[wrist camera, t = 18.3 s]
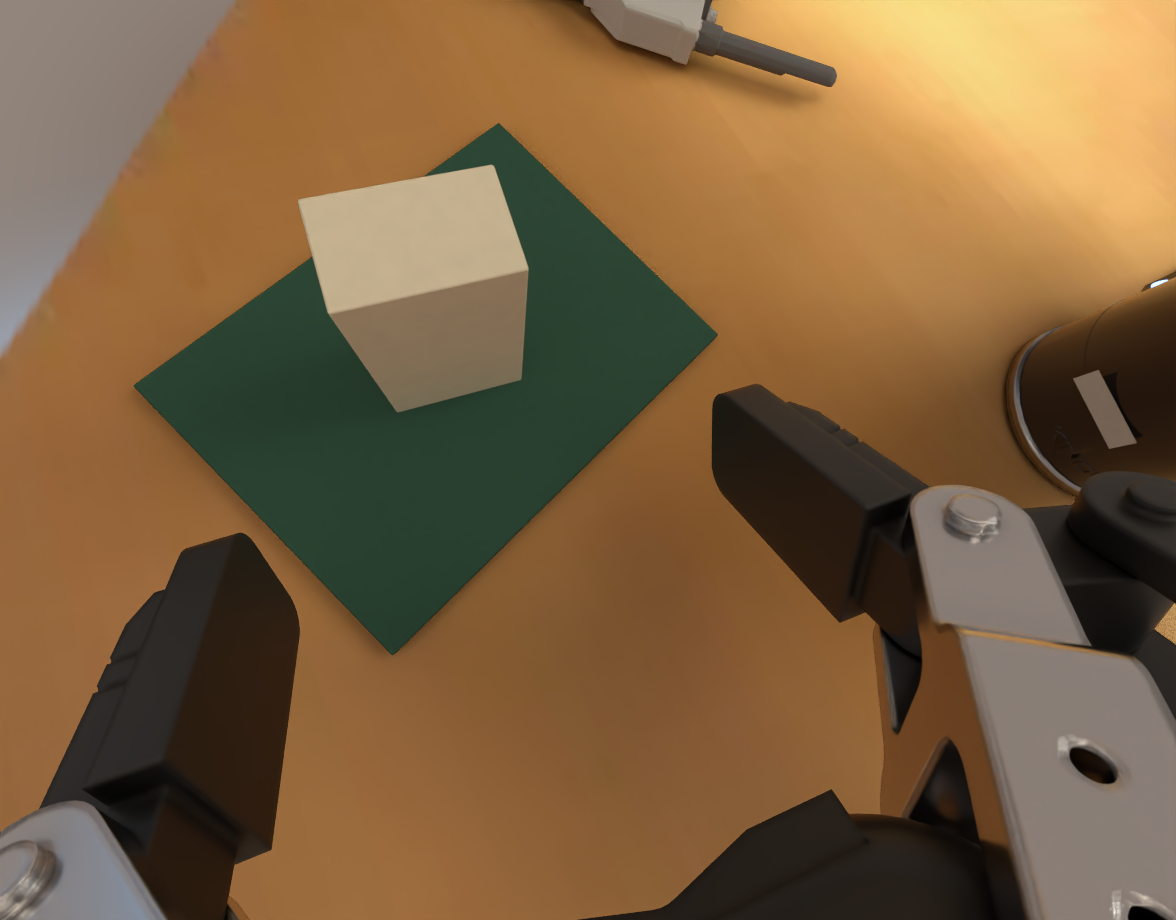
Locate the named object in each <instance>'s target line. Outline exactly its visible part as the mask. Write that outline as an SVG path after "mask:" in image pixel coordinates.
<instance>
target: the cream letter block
mask: <svg viewBox="0 0 1176 920" xmlns="http://www.w3.org/2000/svg"><path fill="white" fill-rule="evenodd" d="M298 205H299V209H300V213H301V216H302V220H303V224H304V227H305V231H306V235H307V238H308V242H309V246H310V249H311V253H312V257H313V261H314V264H315V268H316V272H317V275H318V279H319V283H320V286H321V290H322V294H323V298H324V301H325V305H326V309H327V312H328V314H329V315H330V317H331V318H332V320H333V321H334V323H335V324H336V326H337V327H338V328H339V330H340V331H341V333H342V334H343V336H344V337H345V338H346V340H347V341H348V343H349V344H350V346H351V347H352V349H353V350H354V351H355V353H356V354H357V356H358V357H359V359H360V360H361V361H362V363H363V364H364V366H365V367H366V369H367V370H368V372H369V373H370V374H371V376H372V377H373V379H374V380H375V382H376V383H377V384H378V386H379V387H380V389H381V390H382V392H383V393H384V395H385V396H386V397H387V399H388V400H389V402H390V403H391V405H392V406H393V407H394V409H395V410H396V412H402V411H405V410H409V409H413V408H417V407H421V406H424V405H428V404H432V403H436V402H439V401H443V400H447V399H451V398H455V397H458V396H462V395H466V394H470V393H474V392H477V391H481V390H485V389H489V388H492V387H496V386H500V385H504V384H508V383H511V382H515V381H519V380H521V378H522V362H523V347H524V331H525V316H526V300H527V285H528V269H529V268H528V265H527V262H526V259H525V256H524V253H523V250H522V247H521V244H520V241H519V238H518V235H517V232H516V229H515V227H514V224H513V221H512V218H511V215H510V212H509V209H508V206H507V203H506V200H505V197H504V194H503V191H502V188H501V185H500V182H499V179H498V176H497V173H496V170H495V167H494V166H493V165H487V166H481V167H476V168H470V169H465V170H459V171H453V172H448V173H442V174H437V175H431V176H426V177H420V178H415V179H409V180H403V181H398V182H392V183H387V184H381V185H376V186H370V187H365V188H359V189H354V190H348V191H342V192H337V193H331V194H326V195H320V196H315V197H309V198H304V199H299V200H298Z"/></svg>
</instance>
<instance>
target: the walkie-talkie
mask: <svg viewBox="0 0 1176 920" xmlns="http://www.w3.org/2000/svg"><path fill="white" fill-rule="evenodd" d="M579 1H582V2H584V4H583V5H585V6H588V7H591V12H592V13H593V15H594V16H595V17H596V18H597V19H598V20H599V21H600V22H601V23H602V24H603V26H604V27H605V28H606V29H607V30H608V31H609V32H610V33H611V34H612V36H613V37H614V38H615V39H617V40H619V41H622V42H625V43H628V44H631V45H634V46H637V47H640V48H643V49H646V50H649V51H652V52H655V53H658V54H661V55H664V56H667V57H670V58H671V59H672V60H673V61H675V62H678V63H681V64H685V65H686V64H687V62H688V59H689V56H690V53H691V51H692V50H693V51H696V52H699V53H703V54H706V55H709V56H714V55H719V56H722V57H725V58H728V59H731V60H734V61H737V62H740V63H743V64H746V65H750V66H753V67H756V68H759V69H762V70H765V71H768V72H771V73H774V74H777V75H783V74H785V73H786V74H790V75H793V76H796V77H799V78H802V79H805V80H808V81H811V82H814V83H817V84H821V85H824V86H827V87H832V86H833V84H834V83H835V81H836V78H837V74H836V71H835V69H834V68H833V67H830V66H827V65H824V64H821V63H818V62H815V61H812V60H809V59H806V58H803V57H800V56H797V55H794V54H791V53H788V52H785V51H782V50H779V49H776V48H773V47H770V46H767V45H764V44H761V43H758V42H755V41H752V40H749V39H746V38H743V37H740V36H737V35H734V34H731V33H728V32H725V31H723V28H722V26H719V25H716V24H715V21H716V18H717V15H718V11H715V10H712V7H711V6H710V5H711V2H712V0H579Z"/></svg>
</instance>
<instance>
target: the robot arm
mask: <svg viewBox="0 0 1176 920" xmlns="http://www.w3.org/2000/svg"><path fill="white" fill-rule="evenodd" d="M1006 402H1007V409H1008V414H1009V419H1010V422H1011V425H1012V428H1013V431H1014V433H1015V436H1016V438H1017V440H1018V442H1019V444H1020V445H1021V447H1022V449H1023V450H1024V452H1025V454H1026V455H1027V456H1028V458H1029V459H1030V461H1031V462H1032V463H1033V464H1034V465H1035V467H1036V468H1037V469H1038V470H1039V471H1040V472H1041V473H1042V474H1043V475H1044V476H1045V477H1047V478H1048V479H1049V480H1050V481H1051V482H1053V483H1054V484H1055V485H1057V486H1058V487H1060V488H1062V489H1063V490H1065V491H1067V492H1069V493H1071V494H1073V495H1075V496H1077V497H1076V499H1075V501H1074V503H1073V505H1064V506H1051V507H1038V508H1025V509H1021V508H1020V507H1019V506H1017V505H1016V504H1014V503H1013V502H1011V501H1010V500H1008V499H1006V498H1004V497H1002V496H1000V495H997V494H995V493H992V492H989V491H986V490H983V489H979V488H975V487H970V486H963V485H939V486H934V487H929V486H928V485H926V484H925V483H923V482H922V481H920V480H919V479H917V478H916V477H914V476H913V475H911V474H910V473H908V472H907V471H905V470H904V469H902V468H901V467H900V466H898V465H897V464H895V463H894V462H892V461H891V460H889V459H888V458H886V457H885V456H883V455H882V454H880V453H879V452H877V451H876V450H874V449H873V448H871V447H870V446H869V445H867V444H866V443H864V442H859V441H858V438H857V437H855V436H854V435H852V434H851V433H849V432H848V431H846V430H845V429H843V430H841V429H840V426H839V425H838V424H836V423H835V422H833V421H832V420H830V419H829V418H827V417H826V416H824V415H823V414H821V413H820V412H818V411H816V410H813V409H810V408H807V407H804V406H801V405H798V404H795V403H792V402H787V403H786V402H784V401H783V400H781V399H780V398H778V397H777V396H776V395H774V394H773V393H771V392H770V391H769V390H767V389H766V388H764V387H763V386H761V385H759V384H753V385H749V386H746V387H742V388H739V389H736V390H732V391H729V392H725V393H722V394H719V395H717V396H716V397H715V399H714V401H713V408H712V471H713V475H714V478H715V481H716V484H717V486H718V488H719V490H720V491H721V493H722V494H723V495H724V497H725V498H726V499H727V500H728V501H729V502H730V503H731V504H732V505H733V506H734V508H735V509H736V510H737V511H738V512H739V513H740V514H741V515H742V516H743V517H744V519H745V520H746V521H747V522H748V523H749V524H750V525H751V526H752V527H753V528H754V529H755V531H756V532H757V533H758V534H759V535H760V536H761V537H762V538H763V539H764V540H765V542H766V543H767V544H768V545H769V546H770V547H771V548H772V549H773V550H774V551H775V552H776V554H777V555H778V556H779V557H780V558H781V559H782V560H783V561H784V562H785V563H786V565H787V566H788V567H789V568H790V569H791V570H792V571H793V572H794V573H795V574H796V575H797V577H798V578H799V579H800V580H801V581H802V582H803V583H804V584H805V585H806V586H807V588H808V589H809V590H810V591H811V592H812V593H813V594H814V595H815V596H816V597H817V599H818V600H819V601H820V602H821V603H822V604H823V605H824V606H825V607H826V608H827V609H828V611H829V612H830V613H831V614H832V615H833V616H834V617H835V618H836V619H837V620H838V622H839V623H840V622H843V621H845V620H848V619H850V618H853V617H855V616H858V615H860V614H862V613H865V612H866V613H867V614H868V615H869V616H870V617H871V618H872V619H873V620H874V621H875V622H876V623H875V626H874V630H873V644H874V654H875V663H876V673H877V683H878V693H879V702H880V712H881V722H882V732H883V742H884V762H883V771H882V778H881V793H880V809H881V814H848V813H847V811H846V810H845V808H844V807H843V805H842V804H841V802H840V801H839V799H838V798H837V796H836V795H835V793H834V792H833V791H832V789H831V790H829V791H827V792H825V793H823V794H821V795H818V796H816V797H814V798H812V799H810V800H808V801H806V802H804V803H802V804H800V805H797V806H795V807H793V808H791V809H789V810H787V811H785V812H783V813H781V814H778V815H776V816H774V817H772V818H770V819H768V820H766V821H764V822H762V823H760V824H757V825H755V826H753V827H751V828H749V829H747V830H746V831H745V832H744V833H743V834H742V835H741V836H740V837H738V838H737V839H736V840H735V841H734V842H733V843H732V844H731V845H730V846H729V847H728V848H727V849H726V850H725V851H724V852H723V853H722V854H721V855H720V856H719V857H718V858H717V859H716V860H715V861H714V862H712V863H711V864H710V865H709V866H708V867H707V868H706V869H705V870H704V871H703V872H702V873H701V874H700V875H699V876H698V877H697V878H696V879H695V880H694V881H693V882H692V883H691V884H690V885H689V886H688V887H686V888H685V889H684V890H683V891H682V892H681V893H680V894H679V895H678V896H677V897H676V898H675V899H674V900H673V901H671V902H670V903H669V904H668V905H666V906H664V907H662V908H659V909H655V910H650V911H642V912H634V913H627V914H619V915H611V916H603V917H595V918H587V919H580V920H1176V645H1175V644H1174V643H1173V642H1171V641H1170V640H1168V639H1167V638H1166V637H1164V636H1163V635H1161V634H1160V633H1159V632H1157V631H1156V630H1154V628H1155V627H1156V626H1157V625H1158V623H1159V622H1160V621H1161V619H1162V618H1163V617H1164V616H1165V614H1166V613H1167V612H1168V610H1169V609H1170V608H1171V607H1172V605H1173V604H1174V603H1175V604H1176V272H1174V273H1172V274H1170V275H1168V276H1166V277H1163V278H1161V279H1159V280H1157V281H1154V282H1152V283H1150V284H1148V285H1146V286H1145V287H1144V288H1143V289H1142V291H1141V292H1140V293H1138V294H1136V295H1134V296H1132V297H1129V298H1127V299H1124V300H1122V301H1120V302H1117V303H1115V304H1113V305H1111V306H1108V307H1106V308H1104V309H1102V310H1099V311H1097V312H1095V313H1093V314H1090V315H1088V316H1086V317H1084V318H1081V319H1079V320H1077V321H1075V322H1072V323H1070V324H1068V325H1065V326H1061V327H1057V328H1054V329H1052V330H1050V331H1047V332H1045V333H1043V334H1041V335H1039V336H1037V337H1035V338H1033V339H1032V340H1030V341H1029V342H1028V343H1027V344H1025V345H1024V346H1023V348H1022V349H1021V350H1020V351H1019V352H1018V354H1017V355H1016V357H1015V359H1014V361H1013V363H1012V365H1011V368H1010V370H1009V374H1008V379H1007V385H1006ZM299 635H300V627H299V619H298V615H297V611H296V608H295V605H294V603H293V601H292V599H291V597H290V596H289V594H288V593H287V591H286V590H285V588H284V587H283V585H282V584H281V582H280V581H279V579H278V578H277V576H276V575H275V573H274V572H273V570H272V569H271V567H270V566H269V564H268V563H267V561H266V560H265V558H264V557H263V555H262V554H261V552H260V551H259V549H258V548H257V546H256V545H255V544H254V542H253V541H252V540H251V539H250V538H249V537H248V536H247V535H246V534H243V533H237V534H234V535H230V536H227V537H223V538H220V539H216V540H213V541H210V542H206V543H203V544H199V545H196V546H192V547H189V548H186V549H184V550H183V551H182V552H181V554H180V556H179V558H178V560H177V562H176V565H175V567H174V570H173V572H172V574H171V577H170V579H169V581H168V584H167V586H166V589H165V590H162V591H159V592H155V593H154V594H153V595H152V596H151V597H150V598H149V599H148V600H147V601H146V603H145V604H144V605H143V606H142V607H141V608H140V609H139V610H138V612H137V613H136V614H135V615H134V616H133V617H132V618H131V619H130V621H129V622H128V623H127V624H126V625H125V627H124V629H123V631H122V633H121V636H120V638H119V640H118V642H117V644H116V646H115V648H114V651H113V653H112V655H111V657H110V659H111V664H107V665H106V668H105V670H104V672H103V674H102V676H101V678H100V680H99V682H98V685H97V687H98V692H96V693H93V695H92V697H91V699H90V702H89V704H88V706H87V708H86V710H85V712H84V714H83V716H82V719H81V721H80V723H79V725H78V727H77V729H76V731H75V734H74V736H73V738H72V740H71V742H70V744H69V746H68V748H67V751H66V753H65V755H64V757H63V759H62V761H61V763H60V765H59V768H58V770H57V772H56V774H55V776H54V778H53V780H52V782H51V785H50V787H49V789H48V791H47V793H46V795H45V797H44V800H43V802H42V804H41V806H40V808H39V810H37V811H35V812H33V813H31V814H29V815H27V816H25V817H23V818H21V819H20V820H18V821H16V822H15V823H13V824H12V825H10V826H8V827H7V828H6V829H4V830H3V831H1V832H0V920H250V919H249V918H248V916H247V915H246V914H245V912H244V911H243V910H242V908H241V907H240V906H239V904H238V903H237V902H236V901H235V900H234V899H233V898H232V897H230V896H229V891H230V885H231V880H232V874H233V868H234V865H235V864H238V863H240V862H243V861H245V860H248V859H250V858H252V857H255V856H257V855H260V854H262V853H265V852H267V851H270V850H271V849H272V842H273V834H274V826H275V819H276V811H277V803H278V796H279V788H280V781H281V773H282V765H283V758H284V750H285V742H286V735H287V727H288V720H289V712H290V704H291V697H292V689H293V681H294V674H295V666H296V659H297V651H298V643H299Z"/></svg>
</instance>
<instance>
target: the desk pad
mask: <svg viewBox="0 0 1176 920" xmlns="http://www.w3.org/2000/svg"><path fill="white" fill-rule="evenodd" d="M487 165H493V166H494V167H495V170H496V173H497V176H498V179H499V182H500V185H501V188H502V191H503V194H504V197H505V200H506V203H507V206H508V209H509V212H510V215H511V218H512V221H513V224H514V227H515V229H516V232H517V235H518V238H519V241H520V244H521V247H522V250H523V253H524V256H525V259H526V262H527V265H528V268H529V269H528V285H527V300H526V316H525V331H524V347H523V362H522V378H521V380H519V381H515V382H511V383H508V384H504V385H500V386H496V387H492V388H489V389H485V390H481V391H477V392H474V393H470V394H466V395H462V396H458V397H455V398H451V399H447V400H443V401H439V402H436V403H432V404H428V405H424V406H421V407H417V408H413V409H409V410H405V411H402V412H396V410H395V409H394V407H393V406H392V405H391V403H390V402H389V400H388V399H387V397H386V396H385V395H384V393H383V392H382V390H381V389H380V387H379V386H378V384H377V383H376V382H375V380H374V379H373V377H372V376H371V374H370V373H369V372H368V370H367V369H366V367H365V366H364V364H363V363H362V361H361V360H360V359H359V357H358V356H357V354H356V353H355V351H354V350H353V349H352V347H351V346H350V344H349V343H348V341H347V340H346V338H345V337H344V336H343V334H342V333H341V331H340V330H339V328H338V327H337V326H336V324H335V323H334V321H333V320H332V318H331V317H330V315H329V314H328V312H327V309H326V305H325V301H324V298H323V294H322V290H321V286H320V283H319V279H318V275H317V272H316V268H315V264H314V261H313V257H311V258H310V259H309V260H307V261H306V262H305V263H303V264H302V265H300V266H299V267H298V268H296V269H295V270H293V271H292V272H291V273H289V274H288V275H286V276H285V277H284V278H282V279H281V280H279V281H278V282H277V283H275V284H274V285H273V286H271V287H270V288H268V289H267V290H266V291H264V292H263V293H261V294H260V295H259V296H257V297H256V298H254V299H253V300H252V301H250V302H249V303H247V304H246V305H245V306H243V307H242V308H241V309H239V310H238V311H236V312H235V313H234V314H232V315H231V316H229V317H228V318H227V319H225V320H224V321H222V322H221V323H220V324H218V325H217V326H215V327H214V328H213V329H211V330H210V331H209V332H207V333H206V334H204V335H203V336H202V337H200V338H199V339H197V340H196V341H195V342H193V343H192V344H190V345H189V346H188V347H186V348H185V349H184V350H182V351H181V352H179V353H178V354H177V355H175V356H174V357H172V358H171V359H170V360H168V361H167V362H165V363H164V364H163V365H161V366H160V367H158V368H157V369H156V370H154V371H153V372H152V373H150V374H149V375H147V376H146V377H145V378H143V379H142V380H140V381H139V382H138V383H136V384H135V385H134V387H135V388H136V389H137V390H138V391H139V392H140V393H141V395H142V396H143V397H144V398H145V399H146V400H147V401H148V402H149V403H150V404H151V405H152V406H153V407H154V408H155V409H156V410H157V411H158V412H159V413H160V414H161V415H162V416H163V417H164V418H165V420H166V421H167V422H168V423H169V424H170V425H171V426H172V427H173V428H174V429H175V430H176V431H177V432H178V433H179V434H180V435H181V436H182V437H183V438H184V439H185V440H186V441H187V442H188V443H189V444H190V446H191V447H192V448H193V449H194V450H195V451H196V452H197V453H198V454H199V455H200V456H201V457H202V458H203V459H204V460H205V461H206V462H207V463H208V464H209V465H210V466H211V467H212V468H213V469H214V471H215V472H216V473H217V474H218V475H219V476H220V477H221V478H222V479H223V480H224V481H225V482H226V483H227V484H228V485H229V486H230V487H231V488H232V489H233V490H234V491H235V492H236V493H237V494H238V495H239V497H240V498H241V499H242V500H243V501H244V502H245V503H246V504H247V505H248V506H249V507H250V508H251V509H252V510H253V511H254V512H255V513H256V514H257V515H258V516H259V517H260V518H261V519H262V520H263V521H264V523H265V524H266V525H267V526H268V527H269V528H270V529H271V530H272V531H273V532H274V533H275V534H276V535H277V536H278V537H279V538H280V539H281V540H282V541H283V542H284V543H285V544H286V545H287V546H288V548H289V549H290V550H291V551H292V552H293V553H294V554H295V555H296V556H297V557H298V558H299V559H300V560H301V561H302V562H303V563H304V564H305V565H306V566H307V567H308V568H309V569H310V570H311V571H312V572H313V574H314V575H315V576H316V577H317V578H318V579H319V580H320V581H321V582H322V583H323V584H324V585H325V586H326V587H327V588H328V589H329V590H330V591H331V592H332V593H333V594H334V595H335V596H336V597H337V599H338V600H339V601H340V602H341V603H342V604H343V605H344V606H345V607H346V608H347V609H348V610H349V611H350V612H351V613H352V614H353V615H354V616H355V617H356V618H357V619H358V620H359V621H360V622H361V623H362V625H363V626H364V627H365V628H366V629H367V630H368V631H369V632H370V633H371V634H372V635H373V636H374V637H375V638H376V639H377V640H378V641H379V642H380V643H381V644H382V645H383V646H384V647H385V648H386V650H387V651H388V652H389V653H390V654H391V655H394V654H395V653H397V652H398V651H399V650H400V649H401V648H402V647H403V646H404V645H405V644H406V643H407V642H408V641H409V640H410V639H411V638H412V637H413V636H414V635H415V634H416V633H417V632H418V631H419V630H420V629H421V628H422V627H423V626H424V625H425V624H426V623H427V622H428V621H429V620H430V619H431V618H432V617H433V616H434V615H435V614H436V613H437V612H438V611H439V610H440V609H441V608H442V607H443V606H444V605H445V604H446V603H447V602H448V601H449V600H450V599H451V598H452V597H453V596H454V595H455V594H456V593H457V592H458V591H459V590H460V589H461V588H462V587H463V586H464V585H465V584H466V583H468V582H469V581H470V580H471V579H472V578H473V577H474V576H475V575H476V574H477V573H478V572H479V571H480V570H481V569H482V568H483V567H484V566H485V565H486V564H487V563H488V562H489V561H490V560H491V559H492V558H493V557H494V556H495V555H496V554H497V553H498V552H499V551H500V550H501V549H502V548H503V547H504V546H505V545H506V544H507V543H508V542H509V541H510V540H511V539H512V538H513V537H514V536H515V535H516V534H517V533H518V532H519V531H520V530H521V529H522V528H523V527H524V526H525V525H526V524H527V523H528V522H529V521H530V520H531V519H532V518H533V517H534V516H535V515H536V514H537V513H539V512H540V511H541V510H542V509H543V508H544V507H545V506H546V505H547V504H548V503H549V502H550V501H551V500H552V499H553V498H554V497H555V496H556V495H557V494H558V493H559V492H560V491H561V490H562V489H563V488H564V487H565V486H566V485H567V484H568V483H569V482H570V481H571V480H572V479H573V478H574V477H575V476H576V475H577V474H578V473H579V472H580V471H581V470H582V469H583V468H584V467H585V466H586V465H587V464H588V463H589V462H590V461H591V460H592V459H593V458H594V457H595V456H596V455H597V454H598V453H599V452H600V451H601V450H602V449H603V448H604V447H605V446H606V445H607V444H608V443H610V442H611V441H612V440H613V439H614V438H615V437H616V436H617V435H618V434H619V433H620V432H621V431H622V430H623V429H624V428H625V427H626V426H627V425H628V424H629V423H630V422H631V421H632V420H633V419H634V418H635V417H636V416H637V415H638V414H639V413H640V412H641V411H642V410H643V409H644V408H645V407H646V406H647V405H648V404H649V403H650V402H651V401H652V400H653V399H654V398H655V397H656V396H657V395H658V394H659V393H660V392H661V391H662V390H663V389H664V388H665V387H666V386H667V385H668V384H669V383H670V382H671V381H672V380H673V379H674V378H675V377H676V376H677V375H678V374H679V373H681V372H682V371H683V370H684V369H685V368H686V367H687V366H688V365H689V364H690V363H691V362H692V361H693V360H694V359H695V358H696V357H697V356H698V355H699V354H700V353H701V352H702V351H703V350H704V349H705V348H706V347H707V346H708V345H709V344H710V343H711V342H712V341H713V340H714V339H715V338H716V337H717V335H718V334H717V333H716V332H715V331H714V330H713V329H712V328H711V327H710V326H709V325H708V324H707V323H705V322H704V321H703V320H702V319H701V318H700V317H699V316H698V315H697V314H696V313H695V312H694V311H693V310H692V309H691V308H690V307H689V306H688V305H687V304H686V303H685V302H684V301H683V300H682V299H681V298H680V297H679V296H678V295H676V294H675V293H674V292H673V291H672V290H671V289H670V288H669V287H668V286H667V285H666V284H665V283H664V282H663V281H662V280H661V279H660V278H659V277H658V276H657V275H656V274H655V273H654V272H653V271H652V270H651V269H650V268H648V267H647V266H646V265H645V264H644V263H643V262H642V261H641V260H640V259H639V258H638V257H637V256H636V255H635V254H634V253H633V252H632V251H631V250H630V249H629V248H628V247H627V246H626V245H625V244H624V243H623V242H622V241H621V240H619V239H618V238H617V237H616V236H615V235H614V234H613V233H612V232H611V231H610V230H609V229H608V228H607V227H606V226H605V225H604V224H603V223H602V222H601V221H600V220H599V219H598V218H597V217H596V216H595V215H594V214H593V213H592V212H590V211H589V210H588V209H587V208H586V207H585V206H584V205H583V204H582V203H581V202H580V201H579V200H578V199H577V198H576V197H575V196H574V195H573V194H572V193H571V192H570V191H569V190H568V189H567V188H566V187H565V186H564V185H562V184H561V183H560V182H559V181H558V180H557V179H556V178H555V177H554V176H553V175H552V174H551V173H550V172H549V171H548V170H547V169H546V168H545V167H544V166H543V165H542V164H541V163H540V162H539V161H538V160H537V159H536V158H535V157H533V156H532V155H531V154H530V153H529V152H528V151H527V150H526V149H525V148H524V147H523V146H522V145H521V144H520V143H519V142H518V141H517V140H516V139H515V138H514V137H513V136H512V135H511V134H510V133H509V132H508V131H507V130H505V129H504V128H503V127H502V126H501V125H500V124H499V123H498V124H496V125H495V126H494V127H492V128H491V129H489V130H488V131H487V132H485V133H484V134H483V135H481V136H480V137H478V138H477V139H476V140H474V141H473V142H471V143H470V144H469V145H467V146H466V147H464V148H463V149H462V150H460V151H459V152H457V153H456V154H455V155H453V156H452V157H451V158H449V159H448V160H446V161H445V162H444V163H442V164H441V165H439V166H438V167H437V168H435V169H434V170H432V171H431V172H430V173H428V174H427V175H426V176H431V175H437V174H442V173H448V172H453V171H459V170H465V169H470V168H476V167H481V166H487ZM426 176H424V177H426Z"/></svg>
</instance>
